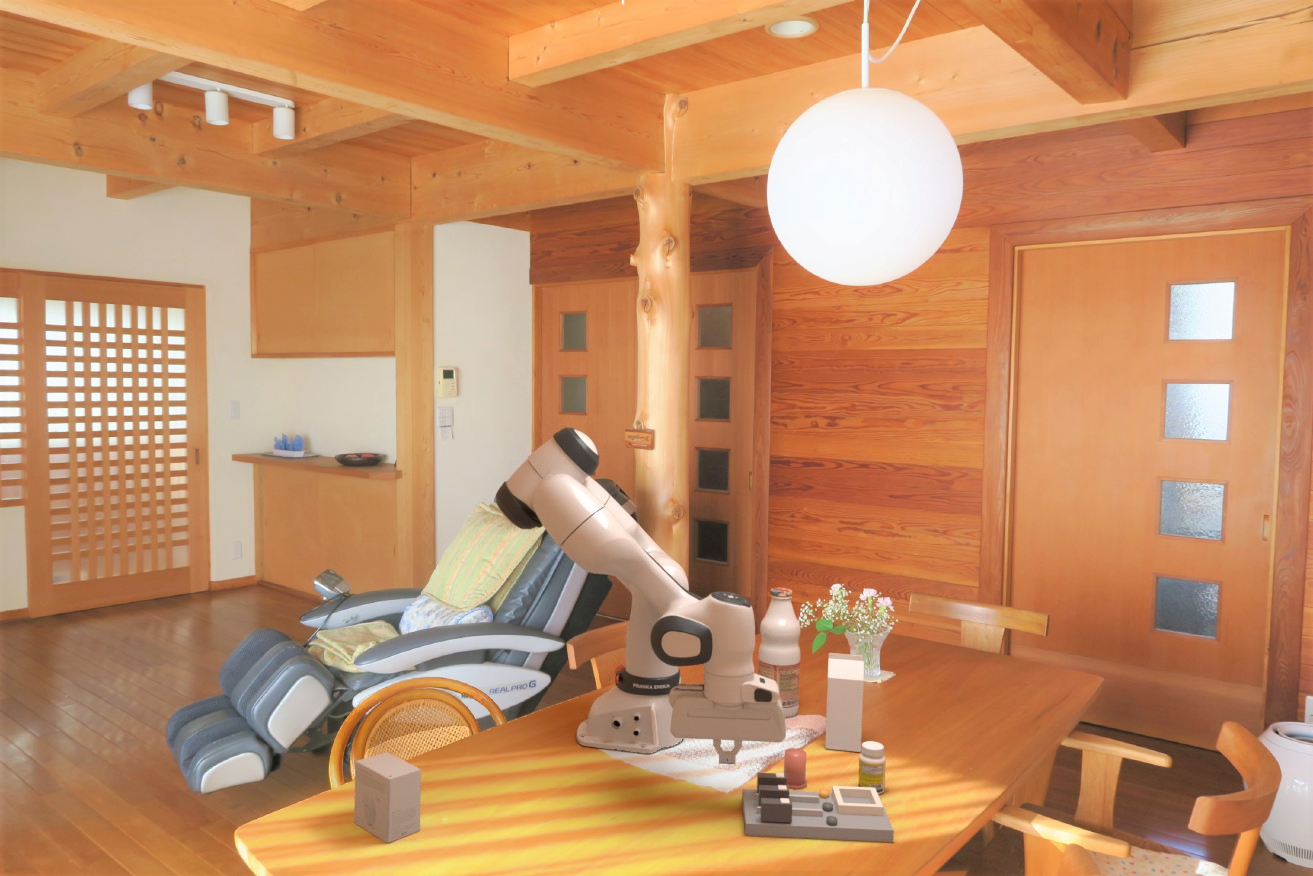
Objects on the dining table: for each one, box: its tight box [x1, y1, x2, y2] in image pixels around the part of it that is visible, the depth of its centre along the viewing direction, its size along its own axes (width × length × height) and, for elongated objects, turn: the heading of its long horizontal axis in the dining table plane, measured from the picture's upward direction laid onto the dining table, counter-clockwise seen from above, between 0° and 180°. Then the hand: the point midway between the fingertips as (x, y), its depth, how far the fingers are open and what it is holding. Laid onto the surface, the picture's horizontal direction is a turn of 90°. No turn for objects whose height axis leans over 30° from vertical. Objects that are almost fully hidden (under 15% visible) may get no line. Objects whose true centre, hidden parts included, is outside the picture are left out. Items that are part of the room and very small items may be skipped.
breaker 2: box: [759, 785, 790, 806], centre depth 157 cm, size 5×2×3 cm, turn 87°
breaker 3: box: [760, 798, 792, 823], centre depth 152 cm, size 5×2×3 cm, turn 87°
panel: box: [741, 785, 894, 843], centre depth 157 cm, size 24×13×4 cm, turn 87°
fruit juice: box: [757, 587, 802, 719], centre depth 208 cm, size 9×9×28 cm
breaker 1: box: [756, 772, 787, 793], centre depth 162 cm, size 5×2×3 cm, turn 87°
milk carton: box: [824, 652, 865, 753], centre depth 190 cm, size 7×7×19 cm
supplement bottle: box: [857, 740, 887, 796], centre depth 169 cm, size 5×5×8 cm
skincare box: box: [353, 751, 422, 844], centre depth 151 cm, size 10×6×10 cm, turn 48°
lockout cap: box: [783, 747, 808, 791], centre depth 171 cm, size 5×5×6 cm
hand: (727, 762), depth 162 cm, fingers closed
